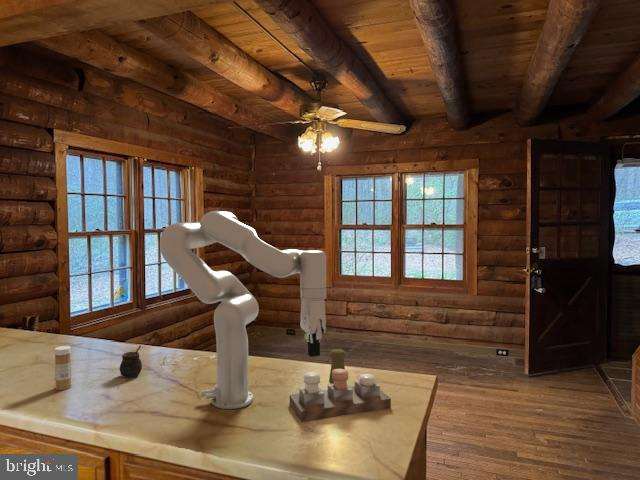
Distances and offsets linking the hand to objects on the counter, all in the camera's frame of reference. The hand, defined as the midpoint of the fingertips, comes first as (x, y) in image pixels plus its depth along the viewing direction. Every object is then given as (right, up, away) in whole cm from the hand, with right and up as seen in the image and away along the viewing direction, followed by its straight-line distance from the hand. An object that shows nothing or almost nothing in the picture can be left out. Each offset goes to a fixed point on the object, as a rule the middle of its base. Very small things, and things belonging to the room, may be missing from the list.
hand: (313, 355), depth 125 cm
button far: (+16, -13, +7) cm, 22 cm away
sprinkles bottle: (-82, -15, +15) cm, 85 cm away
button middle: (+8, -11, +4) cm, 14 cm away
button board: (+8, -17, +4) cm, 19 cm away
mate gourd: (-65, -15, +27) cm, 72 cm away
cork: (+8, -16, +24) cm, 30 cm away
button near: (-1, -11, +1) cm, 11 cm away
